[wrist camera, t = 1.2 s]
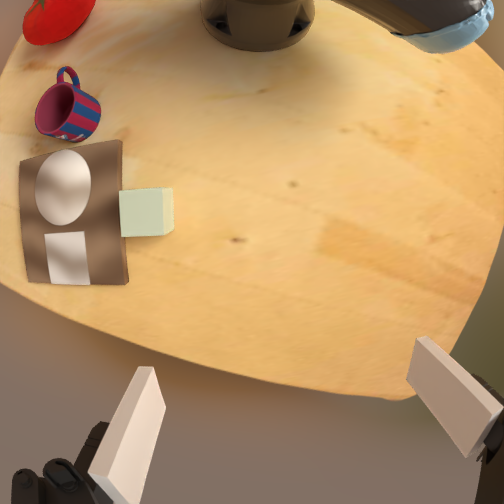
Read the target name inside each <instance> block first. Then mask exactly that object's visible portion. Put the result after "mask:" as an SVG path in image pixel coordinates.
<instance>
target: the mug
mask: <svg viewBox="0 0 504 504" xmlns="http://www.w3.org/2000/svg"><path fill="white" fill-rule="evenodd" d="M64 71H65V72H67V73H68V74H69V75H70V77H71V79H72V82H73V85H72V84H70V83H68V82H64V78H63V73H64ZM100 116H101V108H100V105H99V103H98V101H97V100H96V99H95V98H93V97H92V96H90V95H88V94H87V93H85V92H83V91H82V90H80V83H79V79H78V76H77V74H76V72H75V71H74V70H73V69H72V68H71V67H69V66H65V67H62V68H61V69H59V71H58V73H57V84H55V85H53V86H52V87H50V88H49V89H48V90H47V91H46V92H45V93H44V95H43V96H42V97H41V99H40V101H39V103H38V105H37V108H36V112H35V125H36V128H37V129H38V131H39V132H40V133H42V134H44V135H48V136H52V137H56V138H59V139H63V140H67V141H71V142H81V141H83V140H85V139H86V138H88V137H89V136H90V135H91V134H92V133H93V132H94V130H95V129H96V127H97V125H98V123H99V121H100Z"/></svg>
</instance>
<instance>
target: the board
mask: <svg viewBox="0 0 504 504" xmlns="http://www.w3.org/2000/svg"><path fill="white" fill-rule="evenodd" d="M119 191H122V141H120V140H112V141H106V142H100V143H95V144H89V145H84V146H79V147H75V148H70V149H66V150H59V151H57V152H53V153H49V154H45V155H41V156H37V157H34V158H30V159H27V160H23V161H20V173H19V195H20V218H21V231H22V241H23V249H24V257H25V263H26V270H27V276H28V281H29V282H37V283H51V284H73V285H90V284H100V285H125V284H127V283H128V282H129V277H128V268H127V259H126V248H125V237H121V224H120V206H119Z"/></svg>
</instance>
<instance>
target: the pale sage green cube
mask: <svg viewBox="0 0 504 504" xmlns="http://www.w3.org/2000/svg"><path fill="white" fill-rule="evenodd" d="M119 206H120V224H121V237H133V236H159V235H166V234H167V233H169V232H171V231H173V230H174V209H173V188H166V187H159V188H145V189H133V190H122V191H119Z"/></svg>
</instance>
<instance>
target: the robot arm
mask: <svg viewBox="0 0 504 504" xmlns="http://www.w3.org/2000/svg"><path fill="white" fill-rule="evenodd" d="M331 1H334V2H336V3H338V4H340V5H342V6H345V7H347V8H349V9H351V10H353V11H355V12H357V13H359V14H361V15H362V16H364V17H366V18H368V19H370V20H371V21H373V22H375V23H377V24H378V25H380V26H382V27H383V28H385V29H387V30H388V31H389V32H390V33H391V34H393V35H394V36H396V37H399V38H402V39H404V40H406V41H407V42H409V43H411V44H412V45H414V46H415V47H417V48H418V49H420V50H422V51H424V52H427V53H438V54H445V53H450V52H454V51H457V50H459V49H461V48H463V47H465V46H467V45H469V44H470V43H472V42H473V41H475V40H476V39H477V38H479V37H480V36H481V35H482V34H483V33H484V32H485V30H486V29H487V27H488V26H489V24H488V21H490V20H492V18H493V15H494V7H493V4H492V2H491V0H331ZM201 14H202V19H203V23H204V25H205V27H206V29H207V30H208V31H209V33H210V34H211V35H212V36H213V37H215V38H216V39H217V40H219V41H221V42H222V43H224V44H226V45H229V46H231V47H234V48H238V49H242V50H248V51H273V50H279V49H283V48H286V47H288V46H291V45H293V44H295V43H297V42H298V41H299V40H301V39H302V38H303V37H304V36H305V35H306V34H307V32H308V31H309V29H310V26H311V24H312V22H313V20H314V15H315V7H314V1H313V0H202V1H201ZM406 380H407V381H408V383H409V384H410V385H411V386H412V388H413V389H414V390H415V392H416V393H417V394H418V395H419V397H420V398H421V399H422V400H423V402H424V403H425V404H426V406H427V407H428V408H429V409H430V411H431V412H432V413H433V415H434V416H435V417H436V419H437V420H438V421H439V423H440V424H441V425H442V427H443V428H444V429H445V431H446V432H447V433H448V435H449V436H450V437H451V438H452V440H453V441H454V443H455V444H456V446H457V447H458V448H459V450H460V451H461V452H462V454H463V455H464V457H465V458H466V457H468V456H470V455H471V454H473V453H475V452H476V451H477V450H478V449H479V447H480V446H481V444H482V443H483V442H484V444H485V445H486V446H485V448H484V449H483V450H482V452H481V453H480V455H479V456H478V457H477V460H476V461H479V459H480V458H481V457H482V455H483V457H482V460H481V462H482V465H481V472H480V478H479V484H478V489H477V494H476V498H475V503H474V504H504V398H502V397H501V396H500V395H499V394H498V393H497V392H496V391H495V390H494V389H492V387H491V386H490V385H488V384H487V382H486V381H484V380H483V379H482V378H481V377H479V376H477V375H475V374H471V375H470V374H469V373H468V372H467V371H466V370H465V369H464V368H463V367H461V366H460V365H459V364H458V363H457V362H456V361H455V360H454V359H453V358H452V357H450V356H449V355H448V354H447V353H446V352H445V351H444V350H443V349H442V348H440V347H439V346H438V345H437V344H436V343H435V342H434V341H432V340H431V339H430V338H429V337H428V336H424V337H420V338H416V341H415V345H414V350H413V354H412V358H411V363H410V367H409V370H408V374H407V378H406ZM165 409H166V407H165V404H164V400H163V397H162V394H161V391H160V388H159V385H158V381H157V378H156V375H155V371H154V368H153V367H144V366H143V367H142V366H139V367H138V369H137V371H136V373H135V374H134V376H133V378H132V380H131V382H130V384H129V386H128V388H127V390H126V392H125V394H124V396H123V398H122V400H121V402H120V404H119V406H118V408H117V410H116V412H115V414H114V416H113V418H112V420H111V422H110V423H107V422H101V421H100V423H98V424H97V425H96V426H95V427H93V428H92V430H91V432H90V434H89V436H88V439H87V440H86V442H85V445H84V446H83V448H82V449H81V451H80V454H79V456H78V457H77V460H76V462H75V463H74V466H73V465H72V464H71V462H69V461H67V460H66V459H62V458H57V459H52V460H50V461H49V462H48V463H46V464H45V466H44V468H43V476H44V477H45V478H42V477H38V476H37V475H36V473H35V472H33V471H32V470H30V469H20V470H19V471H17V472H16V473H15V474H14V476H13V479H12V494H11V495H12V497H11V504H113V502H114V503H115V504H139V503H140V499H141V495H142V491H143V487H144V484H145V480H146V476H147V472H148V468H149V465H150V461H151V458H152V454H153V451H154V447H155V443H156V440H157V437H158V433H159V430H160V426H161V423H162V419H163V416H164V413H165Z"/></svg>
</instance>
